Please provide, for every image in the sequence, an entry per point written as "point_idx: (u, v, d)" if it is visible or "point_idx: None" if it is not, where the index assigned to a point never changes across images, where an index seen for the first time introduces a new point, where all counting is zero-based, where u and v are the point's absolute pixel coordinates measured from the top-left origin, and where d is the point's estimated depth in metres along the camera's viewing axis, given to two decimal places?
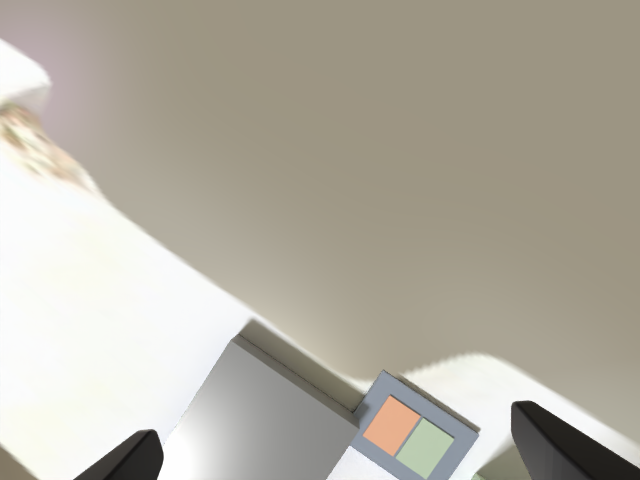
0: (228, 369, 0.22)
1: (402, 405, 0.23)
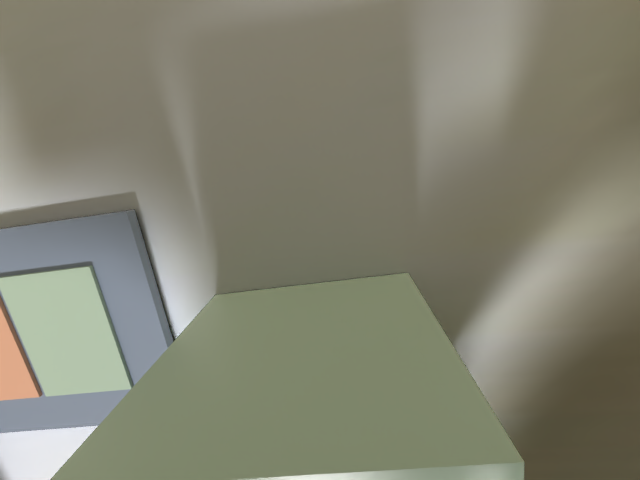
0: None
1: None
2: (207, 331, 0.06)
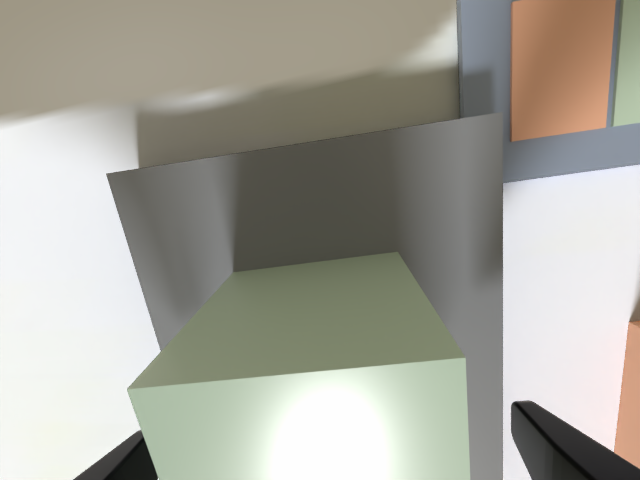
0: (156, 232, 0.09)
1: None
2: (231, 297, 0.08)
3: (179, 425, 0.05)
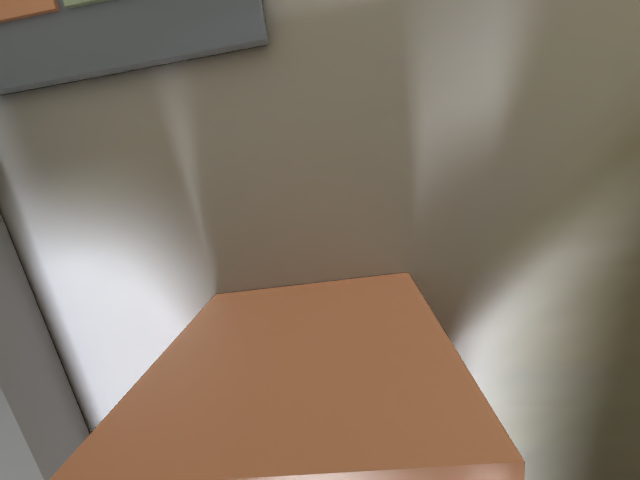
0: None
1: None
2: None
3: None
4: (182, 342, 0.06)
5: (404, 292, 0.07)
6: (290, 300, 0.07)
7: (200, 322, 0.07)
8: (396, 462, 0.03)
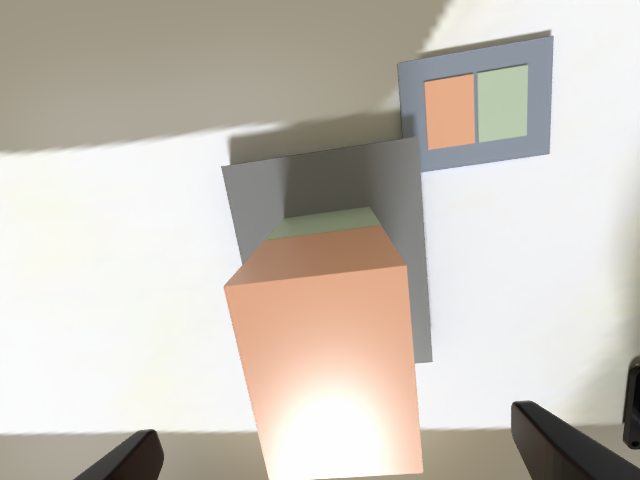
0: (244, 196, 0.18)
1: (445, 80, 0.17)
2: (288, 223, 0.16)
3: None
4: (256, 255, 0.11)
5: (376, 232, 0.12)
6: (311, 239, 0.12)
7: (262, 249, 0.12)
8: (361, 269, 0.08)
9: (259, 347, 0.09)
